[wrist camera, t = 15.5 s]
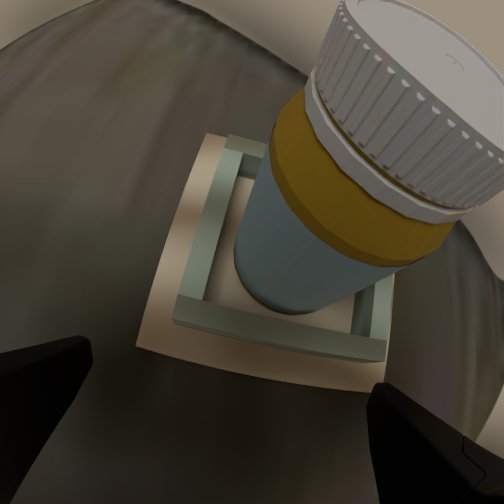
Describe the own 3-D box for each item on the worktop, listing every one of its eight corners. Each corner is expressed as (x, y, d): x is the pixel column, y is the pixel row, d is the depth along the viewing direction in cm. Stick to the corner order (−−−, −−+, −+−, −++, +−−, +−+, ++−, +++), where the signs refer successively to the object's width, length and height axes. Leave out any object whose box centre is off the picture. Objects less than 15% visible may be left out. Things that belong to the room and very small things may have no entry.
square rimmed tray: (376, 393, 18) (404, 395, 15) (137, 346, 16) (125, 343, 13) (390, 195, 23) (411, 176, 20) (206, 138, 22) (208, 108, 19)
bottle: (208, 273, 18) (261, 11, 4) (269, 189, 20) (367, -26, 7) (309, 339, 17) (563, 251, 4) (357, 247, 20) (529, 97, 6)
